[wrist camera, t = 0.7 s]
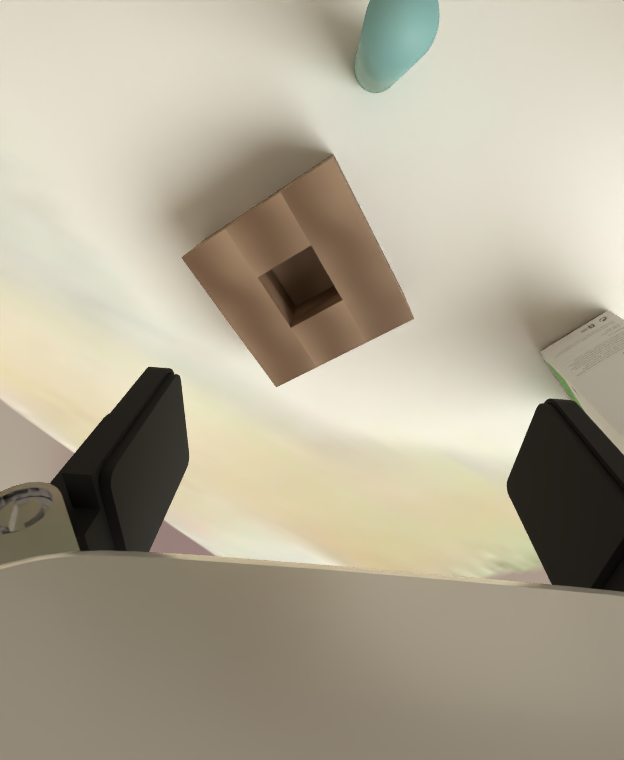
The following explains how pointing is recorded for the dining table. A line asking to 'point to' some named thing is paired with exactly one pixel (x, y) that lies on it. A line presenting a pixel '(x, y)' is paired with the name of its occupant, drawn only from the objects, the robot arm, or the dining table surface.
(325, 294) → the socket block
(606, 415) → the skincare box
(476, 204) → the dining table surface
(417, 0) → the peg
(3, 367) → the dining table surface
